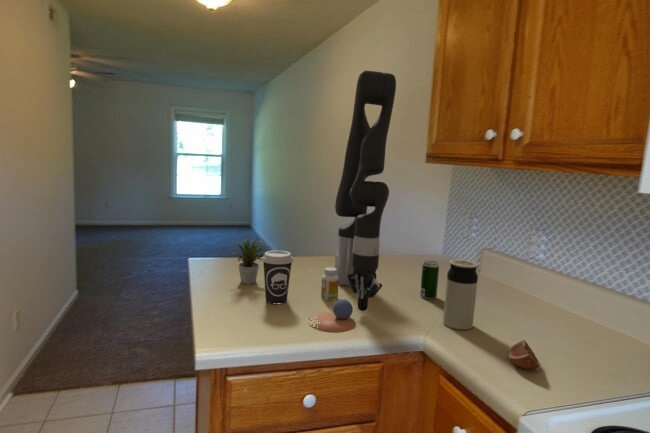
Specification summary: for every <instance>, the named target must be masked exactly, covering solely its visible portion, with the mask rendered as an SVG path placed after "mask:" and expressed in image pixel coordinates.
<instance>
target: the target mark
mask: <svg viewBox="0 0 650 433" xmlns="http://www.w3.org/2000/svg"><path fill="white" fill-rule="evenodd" d="M318 314H319V315H318ZM314 315H316V317H317V315H318V318H317V319H315V320H318V322H320V324H319V323H318V324H315V325H316V326H315V327H314V328H313V329H315V328H317V327H318V328H317V329H316V330H318V329H319V330H318V331H321V330H322V332H326V331H327V333H343V332H346V331H349V330H351V329H353V328H354V327H356V321H355V320H354V318H352V317H351V316H350V317H349V318H347V319H339V318H337V317H336V316H335V314H334V312H320V313H316V314H314ZM312 318H313V317H312ZM314 318H315V317H314ZM308 319H309V318H308ZM309 320H310V319H309ZM313 320H314V319H313ZM319 320H320V321H319ZM310 321H312V320H310ZM316 322H317V321H316ZM314 323H315V322H314ZM317 325H318V326H317ZM312 326H313V324H312V325H311V326H310V327H312Z"/></svg>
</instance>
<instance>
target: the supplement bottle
mask: <svg viewBox="0 0 650 433" xmlns="http://www.w3.org/2000/svg"><path fill="white" fill-rule="evenodd" d="M323 272H324V274H323V275H322V276H321V290H320V291H321V292H320V298H321V299H322V300H323V299H324V301H327V300H333V301H337V300H338V299H339V284H338V283H339V277H338V276H337V275H336V274H337V269H336V268H335V267H331V266H330V267H328V266H327V267H325V268H324V270H323Z"/></svg>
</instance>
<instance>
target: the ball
mask: <svg viewBox="0 0 650 433" xmlns="http://www.w3.org/2000/svg"><path fill="white" fill-rule="evenodd" d="M353 309H354V308H353V305H352V302H350V301H348V300H347V299H339V300H338V299H337V300H336V301H335V303H334V304H333V307H332V313H334V314H335V316H336V317H337V318H339V319H347V318H349V317H351V316H352V314H353V311H354V310H353Z"/></svg>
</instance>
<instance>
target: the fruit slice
mask: <svg viewBox="0 0 650 433" xmlns="http://www.w3.org/2000/svg"><path fill="white" fill-rule="evenodd" d="M507 358H508V359H509V360H510V362H512V363H513V364H514V365H516V366H517V367H519V368H522V369H527V370H531V369H532V370H533V369H537V368H539V367H540V366H541V364H540V362H539V360H538V358H537V356H536V354H535V353H534V351H533V349H532V348H531V347H530V345H529V343H528V342H527V341H526V340H525V339H522V340H521V341H518V342H517V343H515V344H513V345H512V346H511V347H510V348H509V350H508V351H507Z"/></svg>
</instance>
